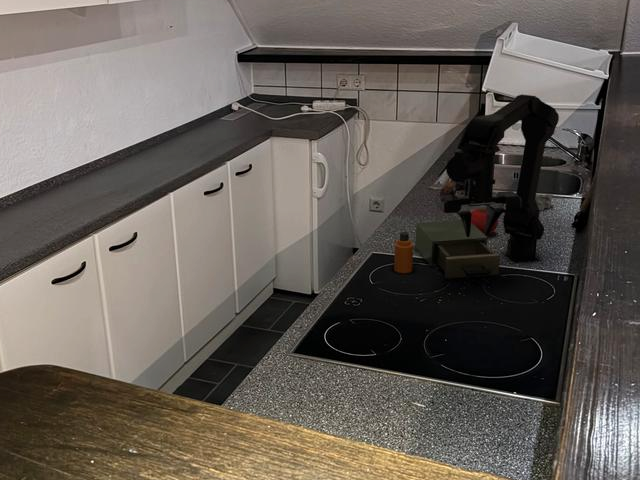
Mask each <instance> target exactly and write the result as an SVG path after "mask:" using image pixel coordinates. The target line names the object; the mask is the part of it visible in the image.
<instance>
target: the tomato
mask: <svg viewBox="0 0 640 480" xmlns="http://www.w3.org/2000/svg"><path fill="white" fill-rule="evenodd" d="M470 212H471V213H472V215H471V223H472V224H473V225H474V226H476V227H477V228H478V229H479V230H480V231H481V232H482V233H483V234H484V228H485V221H486V213H487V212H486V207H482V208H476V209H473V210H471V211H470ZM498 225H499V219H498V220H497V221H496V222H495V224H494V226H493V227H492V229H491V231H490V232H489V234H488V236H489V235H491V234H492V233H494V232H495V231H496V230H497V227H498ZM484 235H485V234H484Z"/></svg>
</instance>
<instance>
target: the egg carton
mask: <svg viewBox="0 0 640 480" xmlns="http://www.w3.org/2000/svg"><path fill="white" fill-rule="evenodd" d="M553 198H554V194H551V193H545V194H541V193H540V194H537V193H536V197H535V200H536V203H537V205H538V208H539V211H544V210H545V209H550V208H551V206H552V200H551V199H553Z"/></svg>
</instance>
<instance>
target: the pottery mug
mask: <svg viewBox="0 0 640 480" xmlns="http://www.w3.org/2000/svg"><path fill="white" fill-rule="evenodd" d="M452 182H453V181H452V180H451V181H447V182H446V183H445V184H444V185H443V186H442V187H441V189H440V192H439V195H438V198H439V197H440V196H441V195H455V196H456V195H457V192H458V191H453V189H452Z"/></svg>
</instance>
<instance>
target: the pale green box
mask: <svg viewBox="0 0 640 480" xmlns="http://www.w3.org/2000/svg"><path fill="white" fill-rule="evenodd" d="M415 225H416V227H415V248H416V250H417V251H418V252H419V253H420V255H421V256H422V257H423V258H424V259H425V261H426V262H427V263H428V265H429V266H430V267H431V268H435V267H440V266H439V265H438V263H437V262H436V261H435V244H439V243H453V242H468V241H482V242H483V243H484V244H485V245H486V246H487V247H488V236H485V235H484V234H483V233H482V232H481V231H480V230H479V229H478V228H477V227H476V226H474V225H473V224H472V223H471V230H470V236H469V237H467V236H466V233H465V230H464V226H463V223H462V220H461V219H457V220H443V221H442V220H441V221H440V220H439V221H426V222H416V223H415Z"/></svg>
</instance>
